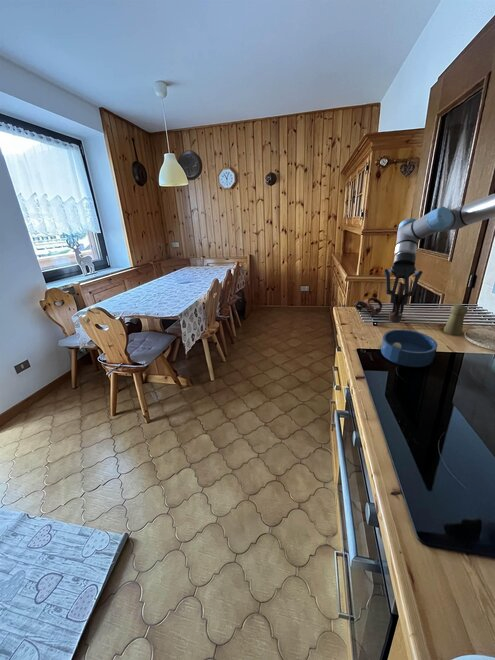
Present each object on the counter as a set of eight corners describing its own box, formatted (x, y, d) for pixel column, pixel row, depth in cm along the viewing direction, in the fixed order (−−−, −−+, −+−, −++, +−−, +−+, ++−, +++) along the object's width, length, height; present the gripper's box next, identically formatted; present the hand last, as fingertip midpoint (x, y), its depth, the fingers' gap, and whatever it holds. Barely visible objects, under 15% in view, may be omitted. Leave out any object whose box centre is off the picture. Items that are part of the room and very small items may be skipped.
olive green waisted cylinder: (461, 336, 109) (469, 310, 104) (442, 332, 112) (449, 307, 107) (462, 330, 113) (470, 304, 108) (444, 327, 116) (451, 302, 111)
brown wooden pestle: (403, 320, 111) (411, 283, 103) (397, 323, 108) (405, 287, 101) (392, 316, 114) (399, 281, 107) (386, 320, 111) (393, 284, 104)
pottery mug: (372, 308, 138) (381, 297, 132) (376, 323, 133) (386, 312, 126) (349, 304, 137) (357, 292, 130) (352, 319, 131) (361, 308, 125)
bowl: (442, 355, 98) (446, 341, 96) (418, 373, 90) (422, 358, 88) (396, 338, 111) (399, 325, 108) (371, 352, 102) (373, 339, 100)
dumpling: (398, 340, 101) (390, 344, 103) (397, 342, 99) (389, 346, 101) (403, 347, 101) (396, 351, 103) (403, 349, 98) (395, 353, 100)
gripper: (424, 262, 111) (418, 317, 106) (382, 260, 117) (374, 312, 111) (429, 251, 105) (422, 310, 99) (384, 250, 111) (376, 305, 105)
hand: (397, 311), depth 105 cm, fingers closed on brown wooden pestle, 2 cm apart
